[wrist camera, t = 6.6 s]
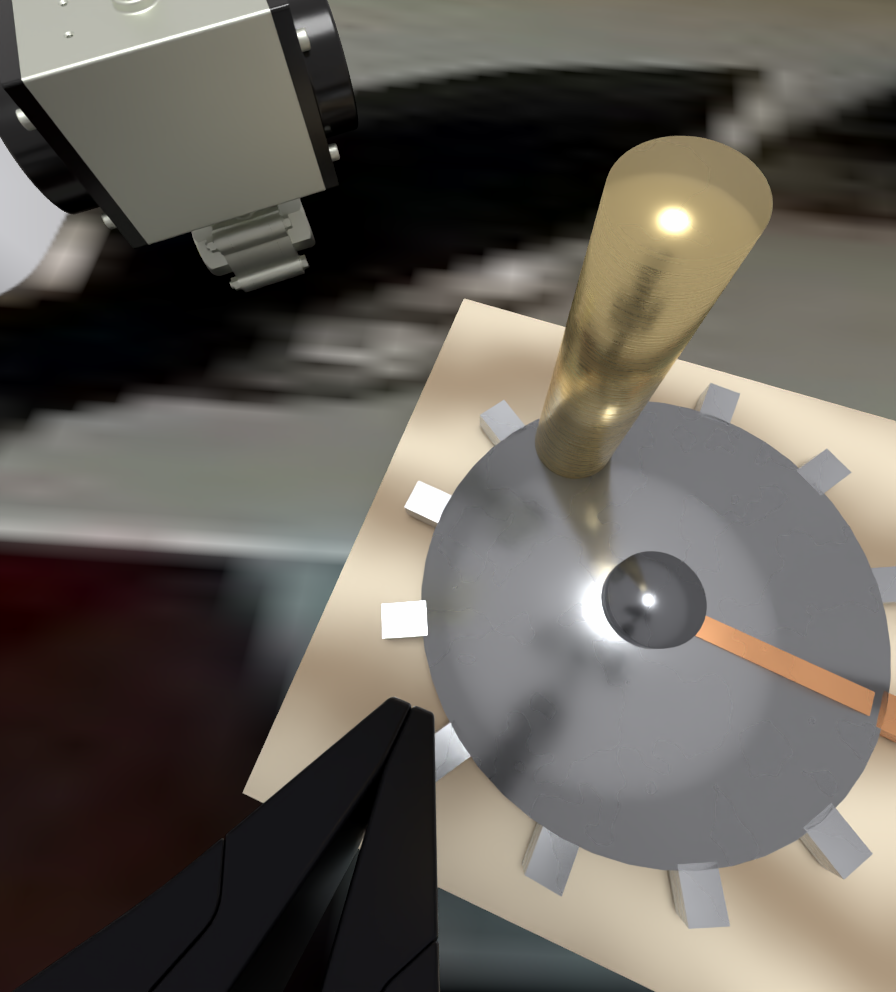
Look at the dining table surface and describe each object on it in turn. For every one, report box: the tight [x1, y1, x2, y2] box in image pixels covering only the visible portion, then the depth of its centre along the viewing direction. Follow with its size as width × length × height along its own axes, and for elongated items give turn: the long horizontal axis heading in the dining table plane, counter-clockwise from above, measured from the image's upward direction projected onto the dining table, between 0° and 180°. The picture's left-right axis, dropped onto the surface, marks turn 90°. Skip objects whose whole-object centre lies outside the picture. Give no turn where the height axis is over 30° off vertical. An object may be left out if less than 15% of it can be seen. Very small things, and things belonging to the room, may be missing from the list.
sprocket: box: [382, 136, 896, 929], centre depth 13 cm, size 18×18×12 cm
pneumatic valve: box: [0, 0, 358, 292], centre depth 21 cm, size 6×12×12 cm, turn 110°
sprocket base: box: [243, 299, 896, 992], centre depth 18 cm, size 22×22×3 cm
